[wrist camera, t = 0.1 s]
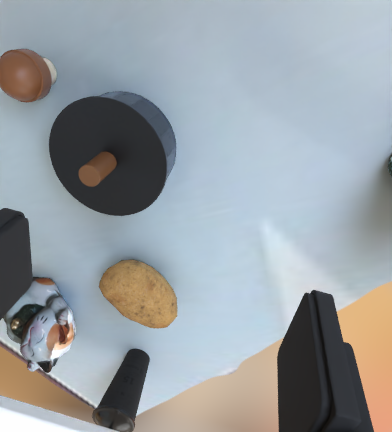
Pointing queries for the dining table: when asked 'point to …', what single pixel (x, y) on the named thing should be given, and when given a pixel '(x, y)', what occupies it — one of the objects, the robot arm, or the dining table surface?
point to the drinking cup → (123, 394)
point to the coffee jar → (390, 166)
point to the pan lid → (108, 155)
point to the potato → (140, 293)
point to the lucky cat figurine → (41, 324)
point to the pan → (154, 117)
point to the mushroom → (26, 75)
